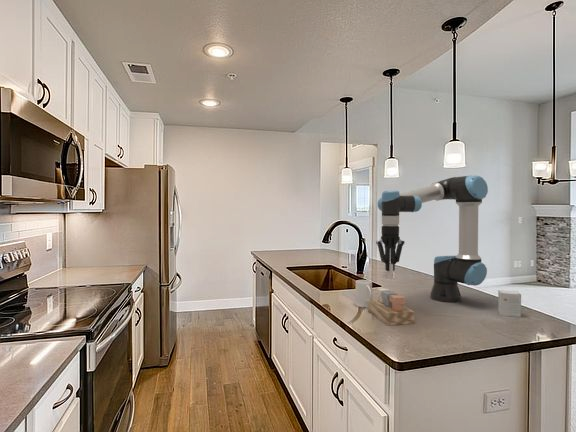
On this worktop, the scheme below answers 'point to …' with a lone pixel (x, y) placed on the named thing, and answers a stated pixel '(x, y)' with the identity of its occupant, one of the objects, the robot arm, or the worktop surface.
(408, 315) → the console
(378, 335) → the worktop surface
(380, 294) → the ivory key
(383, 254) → the robot arm
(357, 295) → the mug
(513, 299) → the small box
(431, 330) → the worktop surface
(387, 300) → the slate key
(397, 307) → the terracotta key
